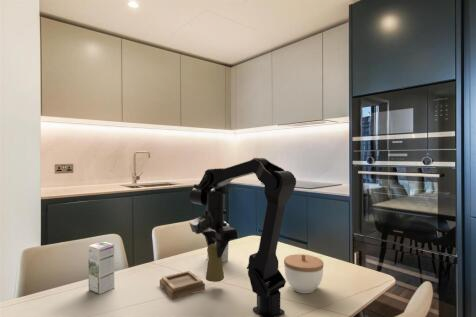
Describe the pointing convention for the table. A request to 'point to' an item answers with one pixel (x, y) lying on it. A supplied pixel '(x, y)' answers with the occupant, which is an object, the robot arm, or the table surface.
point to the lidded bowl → (303, 272)
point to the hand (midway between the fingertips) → (215, 254)
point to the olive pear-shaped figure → (214, 265)
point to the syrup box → (101, 267)
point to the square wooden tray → (181, 284)
